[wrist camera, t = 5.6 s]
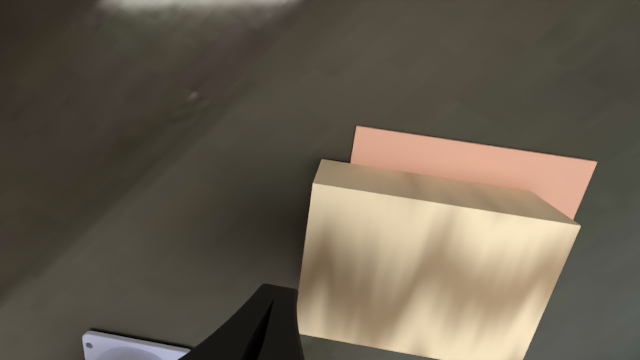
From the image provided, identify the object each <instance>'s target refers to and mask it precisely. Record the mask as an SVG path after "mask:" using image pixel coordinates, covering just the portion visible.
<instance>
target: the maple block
mask: <svg viewBox="0 0 640 360" xmlns="http://www.w3.org/2000/svg"><path fill="white" fill-rule="evenodd" d="M580 227H581V225H579V224H578V223H576V222H575V221H573V220H572V219H570V218H569V217H568V216H566V215H565V214H563V213H562V212H560V211H559V210H557V209H556V208H555V207H553V206H552V205H550V204H549V203H547V202H546V201H544V200H543V199H541V198H540V197H539V196H537V195H536V194H534V193H533V192H531V191H525V190H519V189H512V188H506V187H500V186H493V185H487V184H480V183H474V182H467V181H461V180H454V179H448V178H441V177H435V176H428V175H422V174H416V173H409V172H403V171H396V170H390V169H383V168H377V167H370V166H364V165H357V164H351V163H344V162H338V161H331V160H325V159H322V160H321V162H320V165H319V168H318V171H317V173H316V176H315V179H314V181H313V186H312V193H311V201H310V208H309V216H308V223H307V231H306V238H305V246H304V253H303V261H302V269H301V276H300V284H299V291H298V300H297V320H298V328H299V334H304V335H309V336H315V337H320V338H326V339H331V340H337V341H342V342H348V343H353V344H358V345H364V346H369V347H375V348H380V349H386V350H391V351H397V352H402V353H408V354H413V355H419V356H424V357H430V358H435V359H441V360H523V358H524V356H525V353H526V351H527V349H528V346H529V344H530V342H531V339H532V337H533V335H534V333H535V330H536V328H537V326H538V323H539V321H540V319H541V316H542V314H543V312H544V310H545V307H546V305H547V303H548V300H549V298H550V296H551V293H552V291H553V289H554V287H555V284H556V282H557V280H558V277H559V275H560V273H561V270H562V268H563V266H564V264H565V261H566V259H567V257H568V254H569V252H570V250H571V247H572V245H573V243H574V240H575V238H576V236H577V234H578V231H579V229H580Z"/></svg>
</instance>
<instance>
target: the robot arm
mask: <svg viewBox="0 0 640 360" xmlns="http://www.w3.org/2000/svg"><path fill="white" fill-rule="evenodd" d="M297 300H298V291H297V290H296V289H293V288H287V287H281V286H275V285H270V284H262V285H261V286H260V287H259V288H258V290H257V291H256V292H255V293H254V294H253V295H252V296H251V297H250V299H249V300H248V301H247V302H246V303H245V304H244V305H243V306H242V307H241V308H240V309H239V310H238V311H237V312H236V313H235V314H234V315H233V316H232V317H231V318H230V319H229V320H228V321H226V322H225V323H224V324H223V325H222V326H221V327H220V328H218V329H217V330H216V331H215V332H214V333H213V334H212V335H210V336H209V337H208V338H207V339H205V340H204V341H203V342H202V343H200V344H199V345H198V346H196V347H195V348H194V349H192V350H190V349H186V348H181V347H175V346H170V345H165V344H159V343H154V342H149V341H143V340H138V339H133V338H127V337H122V336H117V335H111V334H106V333H101V332H96V331H87V332H86V333H85V334H84V335H83V337H82V340H83V347H84V355H85V360H305V359H304V355H303V350H302V346H301V341H300V335H299V328H298V320H297Z"/></svg>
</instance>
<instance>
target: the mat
mask: <svg viewBox="0 0 640 360" xmlns="http://www.w3.org/2000/svg"><path fill="white" fill-rule="evenodd" d="M350 163H351V164H357V165H364V166H370V167H377V168H383V169H390V170H396V171H403V172H409V173H416V174H422V175H428V176H435V177H441V178H448V179H454V180H461V181H467V182H474V183H480V184H487V185H493V186H500V187H506V188H512V189H519V190H525V191H531V192H533V193H534V194H536V195H537V196H539V197H540V198H541V199H543V200H544V201H546V202H547V203H549V204H550V205H552V206H553V207H555V208H556V209H557V210H559V211H560V212H562V213H563V214H565V215H566V216H568V217H569V218H570V219H572V220H573V218H574V216H575V214H576V211H577V209H578V207H579V204H580V202H581V199H582V197H583V195H584V192H585V190H586V188H587V185H588V183H589V181H590V178H591V176H592V173H593V171H594V169H595V166H596V164H597V162H596V161H593V160H587V159H580V158H573V157H566V156H560V155H553V154H546V153H539V152H533V151H526V150H519V149H512V148H506V147H499V146H492V145H485V144H479V143H472V142H465V141H459V140H452V139H445V138H438V137H432V136H425V135H418V134H411V133H405V132H398V131H391V130H384V129H378V128H371V127H364V126H358V125H357V126H356V132H355V138H354V143H353V149H352V155H351V161H350Z"/></svg>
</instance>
